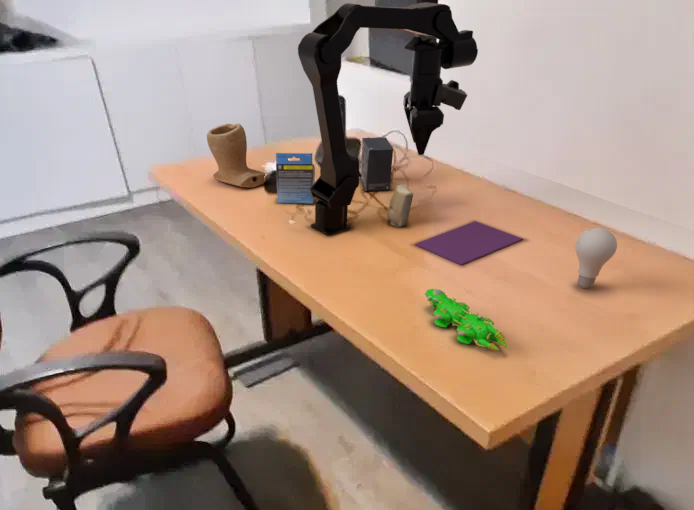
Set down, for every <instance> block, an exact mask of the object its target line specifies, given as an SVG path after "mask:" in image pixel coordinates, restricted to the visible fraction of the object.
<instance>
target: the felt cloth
mask: <svg viewBox="0 0 694 510" xmlns="http://www.w3.org/2000/svg"><path fill="white" fill-rule="evenodd" d="M523 240H524V238H522V237H520V236H517V235H515V234H511V233H508V232H506V231H504V230H501V229H498V228H495V227H493V226H489V225H487V224H484V223H482V222H479V221H476V220H474V221H472V222H469V223H466V224H463V225H461V226H458V227H455V228H453V229H450V230H448V231H446V232H443V233H440V234H438V235H434V236H432V237H430V238H427V239H424V240H422V241H419V242H416V243H415V244H414V245H415V246H416V247H419V248H421V249H423V250H426V251H428V252H430V253H431V254H432V253H433V254H434V255H437V256H438V257H440V258H441V257H442V258H443V259H446V260H448V261H450V262H453V263H455V264H457V265H460V266H463V265H466V264H468V263H470V262H473V261H475V260H478V259H480V258H483V257H485V256H488V255H490V254H492V253H495V252H497V251H500V250H502V249H505V248H507V247H510V246H512V245H514V244H516V243H519V242H521V241H523Z"/></svg>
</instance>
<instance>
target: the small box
mask: <svg viewBox="0 0 694 510" xmlns="http://www.w3.org/2000/svg"><path fill="white" fill-rule="evenodd" d="M393 157H394V148H393V146H392V145H391V142H389V140H388V138H387V137H362V138H361V158H360V159H361V160H360V174H361V175H362V177H359V180H360V181H361V184H362V186H363V189H364V191H365V192H377V191H379V192H381V191H390V190H391V181H392V169H393V167H392V166H393Z"/></svg>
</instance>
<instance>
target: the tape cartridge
mask: <svg viewBox="0 0 694 510" xmlns="http://www.w3.org/2000/svg"><path fill="white" fill-rule="evenodd" d="M293 158H295V159H299V160H289V159H293ZM275 161H276V162H275V173H276V202H277V204H307V205H308V204H309V205H313V204H314V203H315V202H314V201H315V199H316V198H314V197H312V194H311V191H310V188H311V187H312V186H313V185H314V183H315V182H316V166H315V164H313V153H311V152H310V153H309V152H308V153H307V152H306V153H305V152H304V153H303V152H275Z"/></svg>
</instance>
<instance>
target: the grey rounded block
mask: <svg viewBox="0 0 694 510" xmlns="http://www.w3.org/2000/svg"><path fill="white" fill-rule="evenodd" d="M413 198H414V194H413V192H412V191H411V190H410V189H409V188H408V187H407V186H406V185H405V184H404V183H403V184H402V183H401V184H398V185H396V187H395V188H394V191H393V194H392V196H391V199H390V200H389V204H388V205H389V206H388V209H387V218H388V219H389V224H390V225H391V226H394V227H396V228H406V227H407V224H408V221H409V218H410V212H411V207H412V203H413Z"/></svg>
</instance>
